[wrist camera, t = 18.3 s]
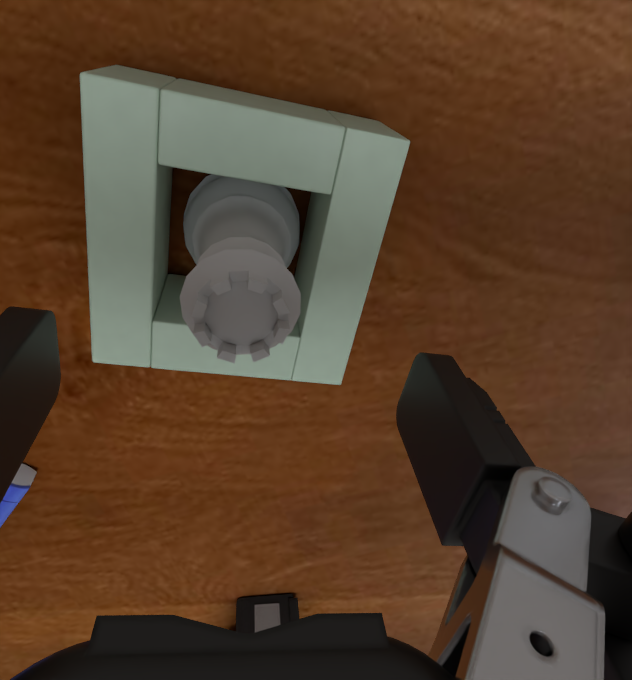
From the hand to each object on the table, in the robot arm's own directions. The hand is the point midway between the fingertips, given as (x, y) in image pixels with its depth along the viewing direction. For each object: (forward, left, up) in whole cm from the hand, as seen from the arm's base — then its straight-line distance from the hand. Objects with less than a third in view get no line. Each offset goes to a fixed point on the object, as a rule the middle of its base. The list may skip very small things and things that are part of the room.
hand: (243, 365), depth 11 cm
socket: (0, 0, -10) cm, 10 cm away
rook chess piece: (0, 0, -10) cm, 10 cm away
